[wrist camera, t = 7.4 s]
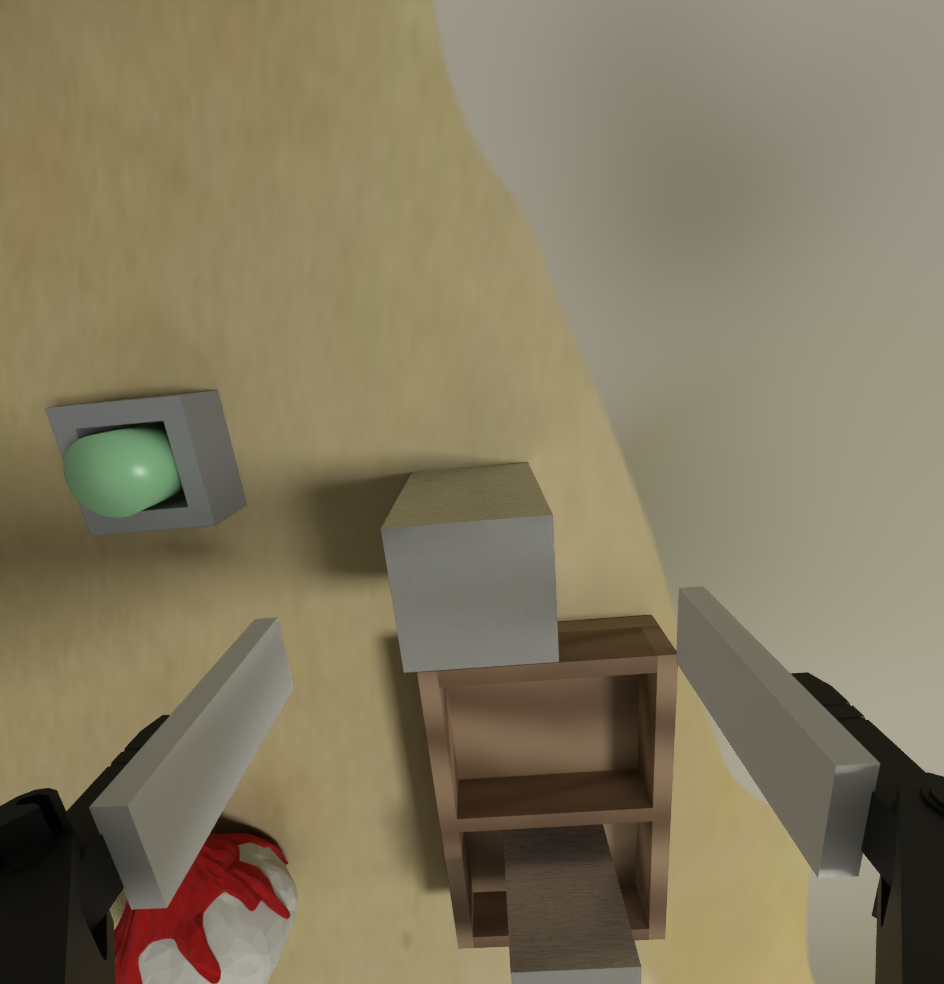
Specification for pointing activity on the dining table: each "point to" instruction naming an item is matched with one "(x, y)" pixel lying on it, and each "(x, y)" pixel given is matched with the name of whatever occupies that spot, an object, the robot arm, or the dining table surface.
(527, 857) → the block
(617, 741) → the wooden cubby shelf
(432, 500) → the block
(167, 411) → the button housing
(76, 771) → the dining table surface
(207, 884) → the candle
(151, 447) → the button
